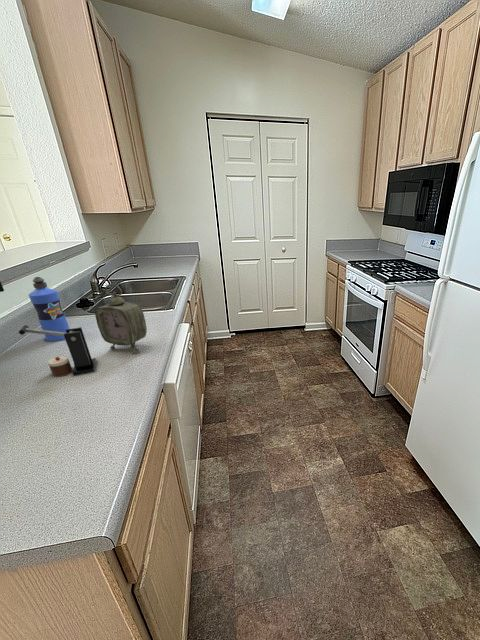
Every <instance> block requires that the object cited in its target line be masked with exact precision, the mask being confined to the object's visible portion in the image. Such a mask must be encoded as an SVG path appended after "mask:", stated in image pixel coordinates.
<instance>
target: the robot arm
mask: <svg viewBox="0 0 480 640" xmlns="http://www.w3.org/2000/svg"><path fill="white" fill-rule="evenodd" d="M3 292H5V289H4V286H3V284H2V281H1V280H0V293H3Z"/></svg>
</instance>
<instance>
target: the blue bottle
mask: <svg viewBox="0 0 480 640" xmlns="http://www.w3.org/2000/svg"><path fill="white" fill-rule="evenodd" d="M32 285H33V288H34V290H33V291H31V292H30V293H28V297H29V300H30V302H31V304H32V306H33V308H34V309H35V311H36V313H37V318H38V322H39V324H40V328H41V330H47V331H55V332H63V333H66V329H71V328H70V326H69V323H68V320H67V317H66V315H65V313H64V311H63V309H62V306H61V301H60V295H59V292H58V290H57V289H54V288H49V287H48V284H47V282H46V281H45V279H44V278H43V277H41V276H36V277H34V278H33V279H32ZM43 335H44V337H45V340H46V341H48V342H57V341H64V340H66V339H65V337H64V336H55V335H47V334H43Z"/></svg>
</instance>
